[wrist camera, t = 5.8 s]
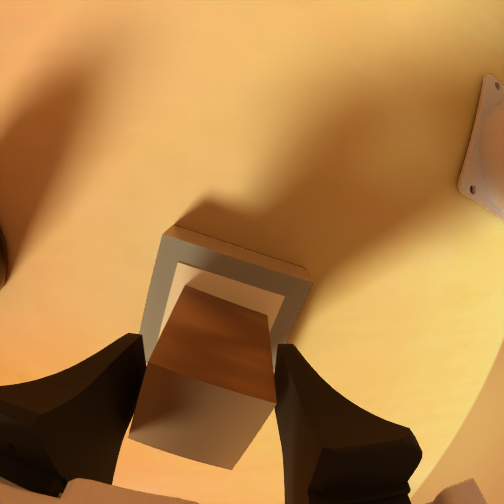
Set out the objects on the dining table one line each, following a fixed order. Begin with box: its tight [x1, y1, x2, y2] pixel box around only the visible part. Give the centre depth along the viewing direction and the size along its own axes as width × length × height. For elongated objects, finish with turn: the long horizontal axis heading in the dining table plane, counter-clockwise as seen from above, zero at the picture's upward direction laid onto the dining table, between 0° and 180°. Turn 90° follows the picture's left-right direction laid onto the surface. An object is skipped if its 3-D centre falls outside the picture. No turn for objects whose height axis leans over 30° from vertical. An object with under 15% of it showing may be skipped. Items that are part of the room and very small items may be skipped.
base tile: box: [139, 225, 313, 370], centre depth 16 cm, size 7×7×2 cm
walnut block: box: [128, 285, 277, 470], centre depth 12 cm, size 4×4×6 cm
